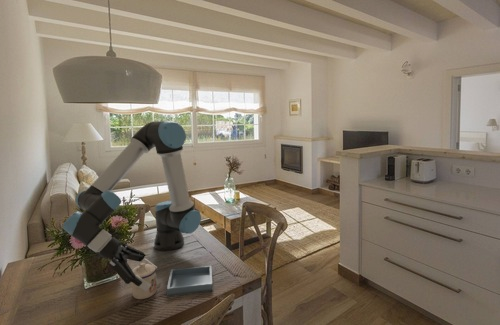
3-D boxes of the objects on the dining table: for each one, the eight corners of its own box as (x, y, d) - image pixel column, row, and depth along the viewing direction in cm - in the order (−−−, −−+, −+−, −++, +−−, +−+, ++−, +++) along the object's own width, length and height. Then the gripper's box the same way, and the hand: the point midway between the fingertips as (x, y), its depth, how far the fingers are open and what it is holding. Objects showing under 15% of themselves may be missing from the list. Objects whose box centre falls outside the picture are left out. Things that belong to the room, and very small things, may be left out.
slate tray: (171, 276, 115) (171, 269, 115) (211, 271, 118) (211, 265, 118) (167, 296, 102) (166, 288, 102) (212, 290, 105) (212, 283, 104)
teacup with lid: (155, 298, 101) (152, 268, 99) (128, 301, 100) (125, 271, 98) (160, 280, 113) (158, 253, 111) (137, 282, 111) (134, 255, 110)
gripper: (109, 238, 113) (151, 269, 118) (83, 269, 89) (137, 306, 94) (121, 225, 113) (163, 256, 118) (99, 252, 89) (152, 290, 94)
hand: (151, 278), depth 106 cm, fingers closed on teacup with lid, 12 cm apart
